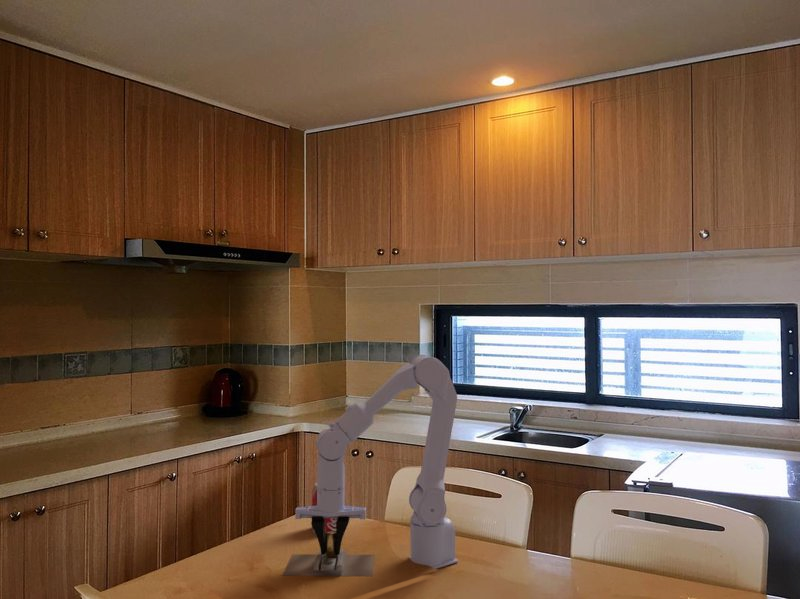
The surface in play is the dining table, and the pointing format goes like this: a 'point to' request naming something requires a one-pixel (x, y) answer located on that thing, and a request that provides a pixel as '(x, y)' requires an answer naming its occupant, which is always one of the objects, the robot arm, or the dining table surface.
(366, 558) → the grey mounting plate
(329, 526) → the soda can
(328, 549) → the brass pin
